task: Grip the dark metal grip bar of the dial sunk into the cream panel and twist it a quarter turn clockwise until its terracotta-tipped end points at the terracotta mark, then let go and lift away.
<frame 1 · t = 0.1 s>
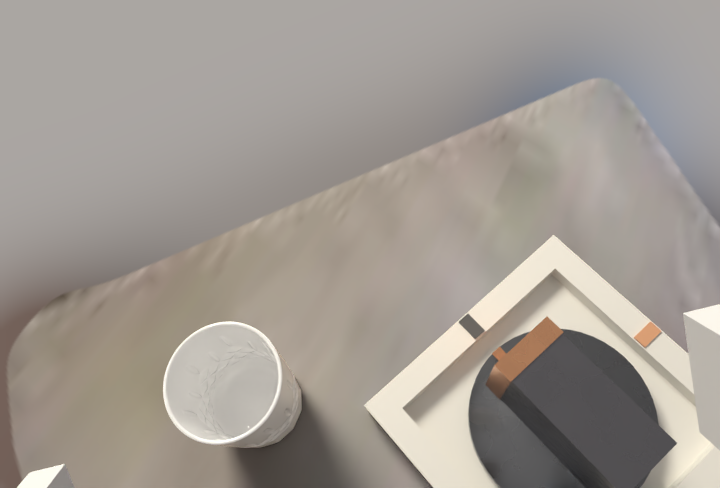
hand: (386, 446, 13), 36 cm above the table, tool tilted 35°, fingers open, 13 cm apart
dial: (570, 412, 41), point 5 cm above the table, hinge at 0.0°
dial panel: (555, 422, 46), on the table
white cup: (261, 403, 50), on the table
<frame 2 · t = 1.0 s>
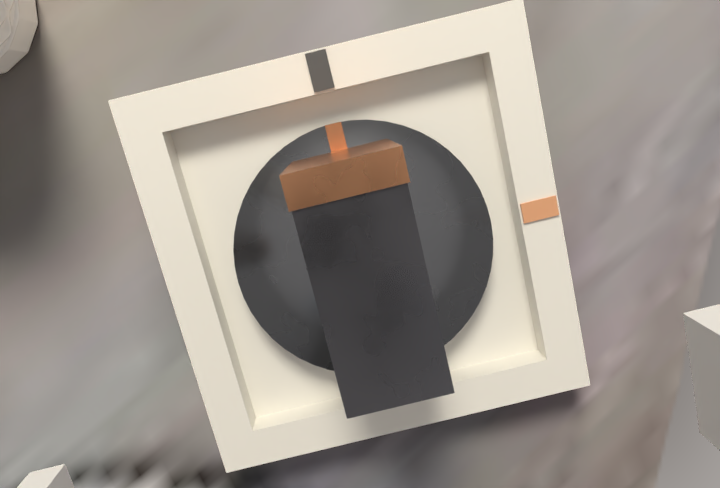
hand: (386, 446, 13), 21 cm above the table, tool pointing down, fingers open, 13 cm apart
dial: (367, 265, 28), point 5 cm above the table, hinge at 0.0°
dial panel: (362, 241, 34), on the table
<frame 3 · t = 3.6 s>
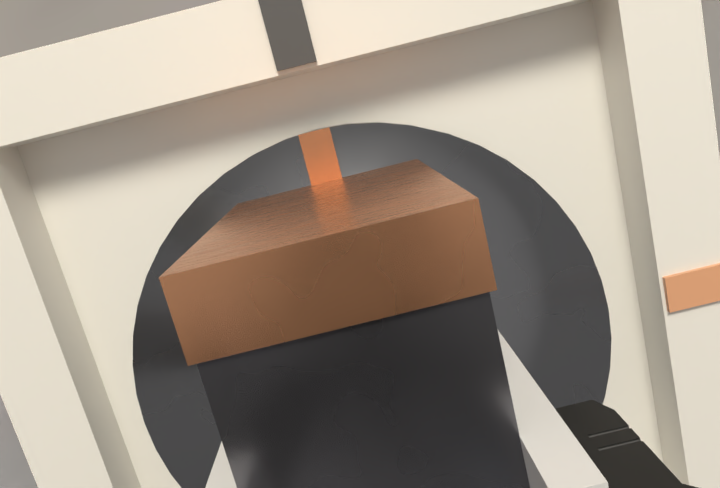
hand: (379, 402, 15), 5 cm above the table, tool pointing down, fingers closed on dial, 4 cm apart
dial: (381, 416, 14), point 5 cm above the table, hinge at 0.0°, touching gripper
dial panel: (370, 333, 19), on the table
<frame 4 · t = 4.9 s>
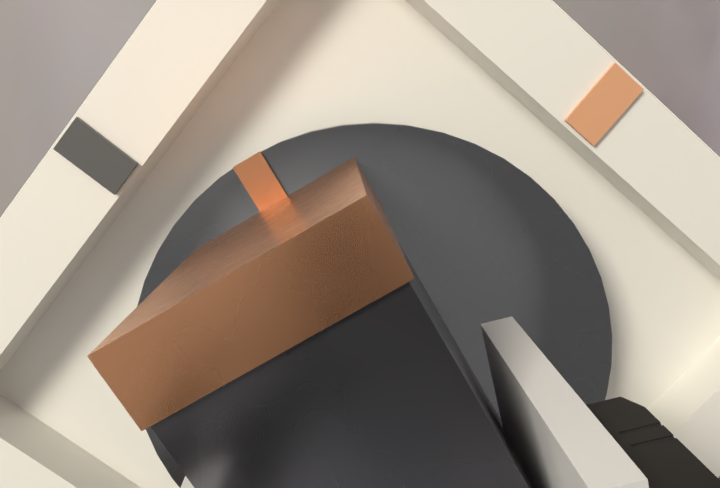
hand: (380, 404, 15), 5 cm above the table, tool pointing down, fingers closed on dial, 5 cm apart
dial: (382, 418, 14), point 5 cm above the table, hinge at -20.9°, touching gripper
dial panel: (370, 334, 19), on the table
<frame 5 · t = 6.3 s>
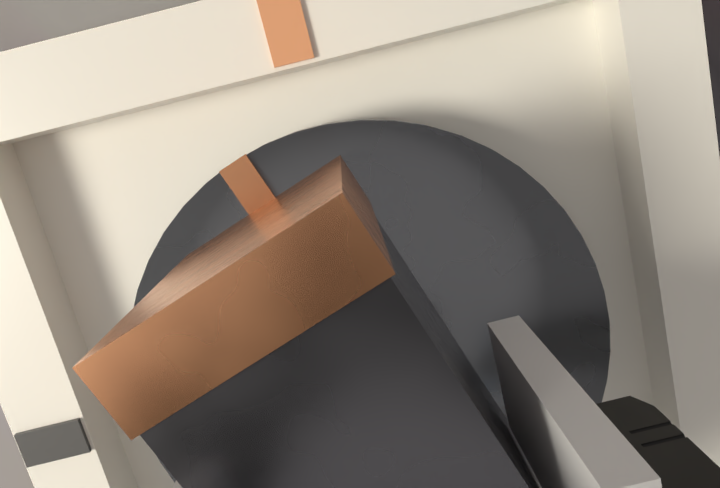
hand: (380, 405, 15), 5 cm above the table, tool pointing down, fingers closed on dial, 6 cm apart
dial: (379, 415, 14), point 5 cm above the table, hinge at -71.0°, touching gripper
dial panel: (368, 331, 19), on the table
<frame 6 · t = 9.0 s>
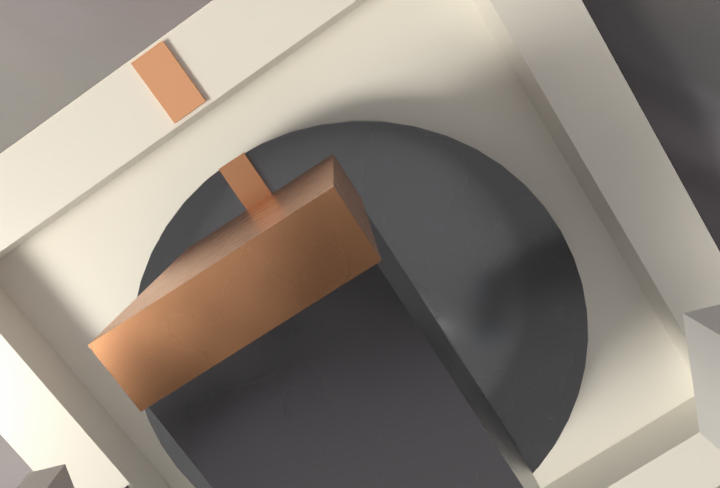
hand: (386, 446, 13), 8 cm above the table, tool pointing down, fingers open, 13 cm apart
dial: (369, 397, 15), point 5 cm above the table, hinge at -91.3°
dial panel: (359, 322, 20), on the table
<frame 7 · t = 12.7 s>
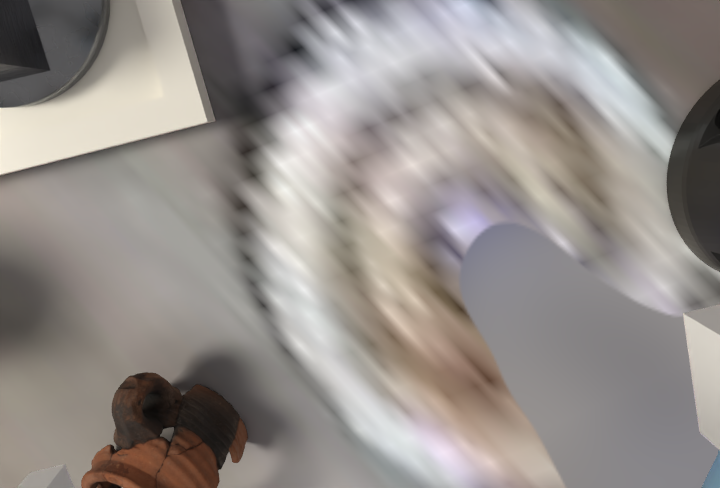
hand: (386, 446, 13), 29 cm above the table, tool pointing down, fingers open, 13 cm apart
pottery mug: (175, 426, 44), on the table
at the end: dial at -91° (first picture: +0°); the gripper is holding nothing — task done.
